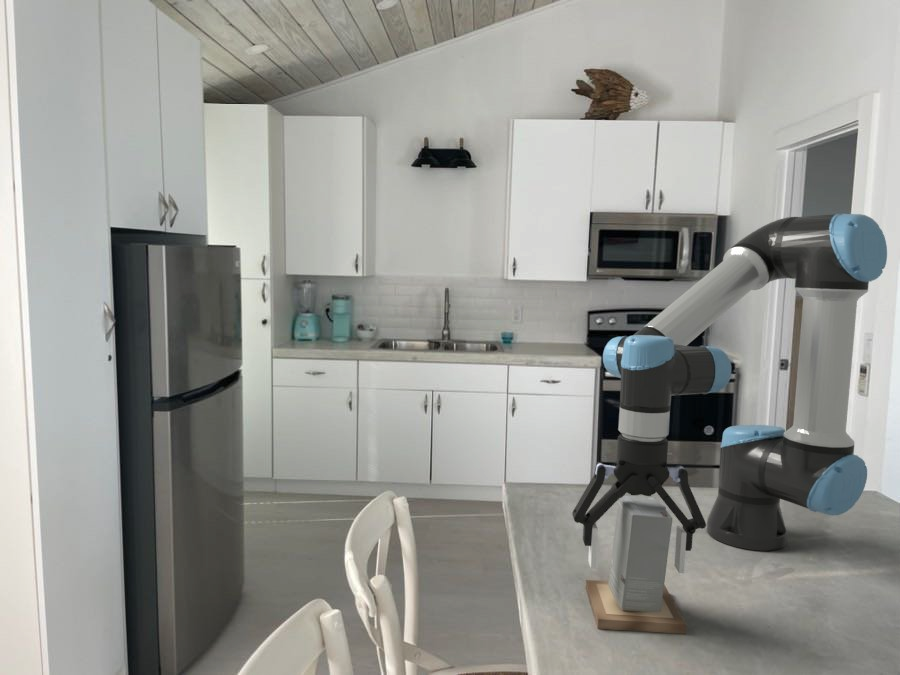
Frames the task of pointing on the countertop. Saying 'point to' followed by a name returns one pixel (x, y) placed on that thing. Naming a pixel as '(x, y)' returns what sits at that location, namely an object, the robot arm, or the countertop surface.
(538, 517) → the countertop surface
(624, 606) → the skincare box
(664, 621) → the tan flat square board
